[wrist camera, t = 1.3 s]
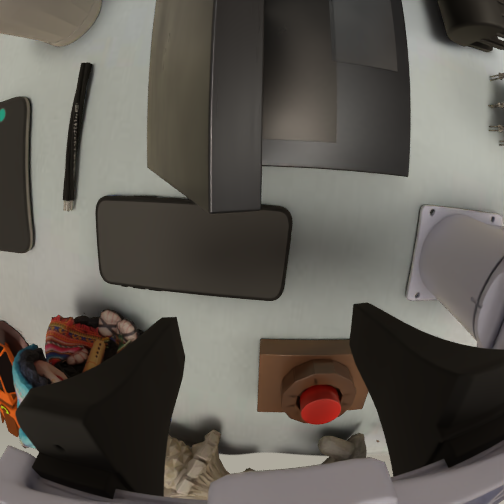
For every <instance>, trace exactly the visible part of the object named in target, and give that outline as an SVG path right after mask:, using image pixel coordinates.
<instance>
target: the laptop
mask: <svg viewBox="0 0 504 504" xmlns="http://www.w3.org/2000/svg"><path fill="white" fill-rule="evenodd" d="M409 155H410V77H409V61H408V49H407V38H406V30H405V22H404V14H403V8H402V1H401V0H264V66H263V132H262V166H279V167H302V168H319V169H334V170H347V171H358V172H369V173H379V174H388V175H396V176H404V177H408V172H409Z"/></svg>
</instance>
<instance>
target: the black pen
mask: <svg viewBox="0 0 504 504" xmlns="http://www.w3.org/2000/svg"><path fill="white" fill-rule="evenodd" d="M91 68H92V64H90V63H81V68H80V72H79V78H78V83H77V89H76V93H75V98H74V102H73V107H72V112H71V118H70V124H69V131H68V140H67V150H66V169H65V178H64V190H63V200H64V211H66V201H67V211H69V205H70V210H71V211H72V210H73V207H72V206H73V200H74V179H75V164H76V157H77V149H78V142H79V135H80V128H81V121H82V114H83V107H84V100H85V94H86V87H87V83H88V79H89V75H90V72H91Z"/></svg>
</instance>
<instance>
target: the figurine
mask: <svg viewBox="0 0 504 504" xmlns="http://www.w3.org/2000/svg"><path fill="white" fill-rule="evenodd" d="M84 314H85V313H84ZM143 333H144V332H143V331H141V330H138V329H137V328H136V326H135V325H134V323H133V322H132V321H130V320H128V319H126V318H125V319H124V317H123V316H122V315H120V314H118V313H117V312H115V311H113V310H108V309H107V310H103V311H102V312H101V316H100V317H93V318H88V317H87V316H83V315H82V316H79V317H76V318H75V319H73V317H69V318H63V317H61V316H60V315H58V316H57V317H54V318H53V317H52V320H51V323H50V325H49V327H48V330H47V334H46V344H45V353H46V358H45V357H44V353H43V350H42V348H38V345H35V344H32V345H30V346H27V347H25V348H24V349H22V350H20V351H19V352H18V353H17V355H16V357H15V358H14V361H13V366H12V373H13V382H14V387H15V391H16V395H17V408H18V406H19V405H20V403H21V402H22V401H23V399H24V398H25V396H26V395H27V393H28V392H29V390H30V389H31V388H36V387H40V386H44V385H48V384H53V383H56V382H59V381H62V380H65V379H68V378H71V377H73V376H76V375H78V374H81V373H83V372H85V371H87V370H89V369H91V368H93V367H95V366H97V365H99V364H101V363H103V362H104V361H106V360H108V359H109V358H111V357H112V356H114V355H115V354H117V353H118V352H120V351H121V350H122V349H124V348H125V347H126V346H128V345H129V344H130V343H132V342H133V341H134V340H136V339H137V338H138V337H139V336H140V335H142V334H143ZM19 437H20V442H21V444H22V446H23V447H24V448H29V447H31V448H35V446H34V445H33V444H32V443H31V441H30V440H29V439H28V437H27V436H26V435H25V433H24V432H23V431H22V429H21V428H20V429H19Z"/></svg>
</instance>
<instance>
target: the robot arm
mask: <svg viewBox="0 0 504 504" xmlns="http://www.w3.org/2000/svg"><path fill="white" fill-rule="evenodd" d="M431 209H433V213H432V214H431V215H430V210H431ZM491 217H492V220H491ZM502 222H503V217H502V216H501V215H499V214H495V213H488V212H481V211H474V210H467V209H459V208H451V207H443V206H434V205H423V206H422V207H421V209H420V216H419V223H418V230H417V237H416V243H415V249H414V255H413V261H412V266H411V271H410V276H409V281H408V286H407V291H406V298H407V299H408V300H410V301H415V300H439V301H440V302H441V303H442V304H443V305H444V306H445V307H446V308H447V309H448V310H449V311H450V312H451V314H452V315H453V316H454V317H455V318H456V319H457V320H458V321H459V322H460V323H461V324H462V325H463V326H464V327H465V329H466V330H467V331H468V332H469V333H470V334H471V335H472V336H473V337H474V339H475V340H476V341H477V347H472V346H467V345H462V344H458V343H454V342H450V341H447V340H444V339H441V338H438V337H435V336H433V335H430V334H427V333H425V332H423V331H420V330H418V329H416V328H414V327H412V326H410V325H408V324H406V323H404V322H402V321H400V320H399V319H397V318H395V317H393V316H391V315H390V314H388V313H386V312H384V311H383V310H381V309H379V308H377V307H375V306H373V305H371V304H369V303H360V304H354V305H353V315H352V325H351V334H350V343H349V345H350V349H351V352H352V355H353V358H354V361H355V364H356V366H357V369H358V371H359V373H360V375H361V377H362V379H363V381H364V383H365V385H366V387H367V389H368V391H369V393H370V395H371V397H372V400H373V402H374V404H375V407H376V409H377V412H378V415H379V418H380V421H381V424H382V428H383V431H384V435H385V439H386V443H387V446H388V451H389V455H390V460H391V465H392V471H393V477H391V478H390V475H389V472H388V470H387V467H386V464H385V462H383V461H380V460H377V459H375V458H370V457H367V458H356V459H348V460H343V461H338V462H332V463H326V464H320V465H313V466H306V467H298V468H289V469H280V470H265V471H248V472H241V473H234V474H227V475H225V476H223V477H221V478H219V479H217V480H215V481H213V482H211V483H210V487H209V491H208V500H195V499H182V498H171V497H164V474H165V459H166V449H167V441H168V433H169V426H170V421H171V417H172V413H173V410H174V406H175V403H176V399H177V396H178V392H179V388H180V385H181V381H182V377H183V371H184V363H185V354H184V350H183V345H182V341H181V336H180V332H179V327H178V322H177V317H167V318H161V319H160V320H158V321H157V322H156V323H155V324H153V325H152V326H151V327H150V328H149V329H148V330H146V331H145V332H144V333H143V334H142V335H140V336H139V337H138V338H137V339H136V340H134V341H133V342H132V343H130V344H129V345H128V346H126V347H125V348H124V349H122V350H121V351H120V352H118V353H117V354H115V355H114V356H112V357H111V358H109V359H108V360H106V361H104V362H103V363H101V364H99V365H97V366H95V367H93V368H91V369H89V370H87V371H85V372H83V373H81V374H78V375H76V376H73V377H71V378H68V379H65V380H62V381H59V382H56V383H53V384H48V385H44V386H40V387H36V388H31V389H30V390H29V392H28V393H27V395H26V396H25V398H24V399H23V401H22V402H21V403H20V405H19V406H18V408H17V409H16V411H15V416H16V419H17V422H18V424H19V426H20V428H21V429H22V431H23V432H24V433H25V435H26V436H27V437H28V439H29V440H30V441H31V443H32V444H33V445H34V446H35V448H36V449H37V450H38V451H39V454H38V456H37V458H35V457H34V456H32V455H31V454H29V453H27V452H24V451H22V450H19V449H17V448H14V447H12V446H7V448H6V450H5V452H4V453H3V455H2V457H1V459H0V504H498V503H500V502H501V501H502V500H504V228H503V227H502ZM416 293H418V294H417V296H415V294H416Z"/></svg>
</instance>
